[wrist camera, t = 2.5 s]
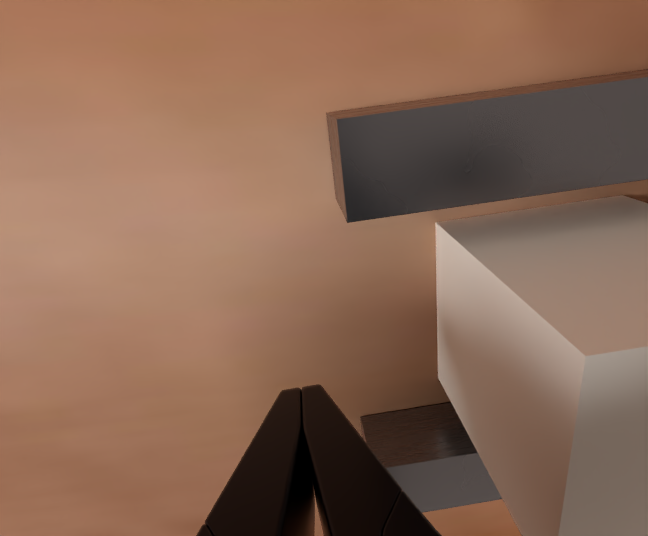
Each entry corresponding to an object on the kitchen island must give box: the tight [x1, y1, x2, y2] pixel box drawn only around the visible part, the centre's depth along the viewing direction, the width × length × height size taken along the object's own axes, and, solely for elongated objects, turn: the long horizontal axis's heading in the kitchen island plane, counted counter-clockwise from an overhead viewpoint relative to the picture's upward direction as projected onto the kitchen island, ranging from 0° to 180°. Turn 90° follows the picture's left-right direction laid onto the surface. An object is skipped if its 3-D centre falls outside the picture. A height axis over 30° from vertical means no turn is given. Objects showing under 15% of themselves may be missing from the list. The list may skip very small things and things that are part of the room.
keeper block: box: [436, 195, 648, 536], centre depth 9 cm, size 5×5×6 cm
